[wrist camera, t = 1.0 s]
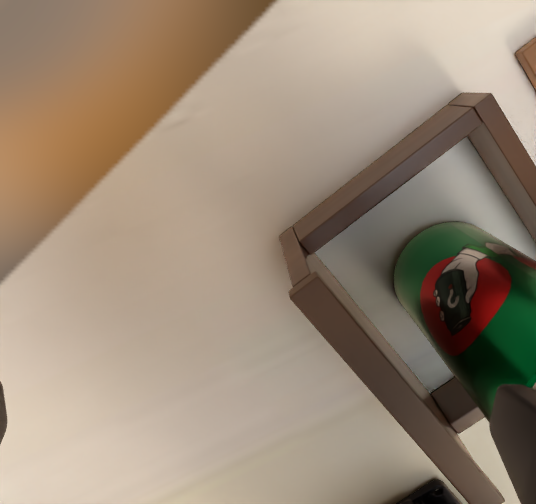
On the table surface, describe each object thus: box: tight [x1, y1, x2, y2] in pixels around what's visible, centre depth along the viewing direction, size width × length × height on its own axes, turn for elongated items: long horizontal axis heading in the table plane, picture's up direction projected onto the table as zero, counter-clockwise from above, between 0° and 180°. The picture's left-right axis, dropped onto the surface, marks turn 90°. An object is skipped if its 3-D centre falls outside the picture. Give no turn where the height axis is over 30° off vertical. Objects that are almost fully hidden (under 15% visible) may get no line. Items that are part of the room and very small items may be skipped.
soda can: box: [394, 222, 536, 423], centre depth 18 cm, size 5×5×12 cm
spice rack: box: [279, 93, 536, 504], centre depth 20 cm, size 13×10×7 cm
